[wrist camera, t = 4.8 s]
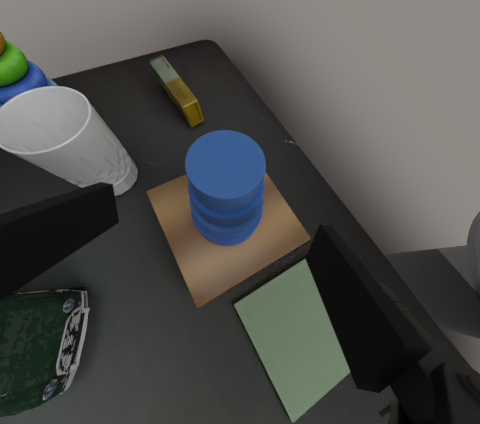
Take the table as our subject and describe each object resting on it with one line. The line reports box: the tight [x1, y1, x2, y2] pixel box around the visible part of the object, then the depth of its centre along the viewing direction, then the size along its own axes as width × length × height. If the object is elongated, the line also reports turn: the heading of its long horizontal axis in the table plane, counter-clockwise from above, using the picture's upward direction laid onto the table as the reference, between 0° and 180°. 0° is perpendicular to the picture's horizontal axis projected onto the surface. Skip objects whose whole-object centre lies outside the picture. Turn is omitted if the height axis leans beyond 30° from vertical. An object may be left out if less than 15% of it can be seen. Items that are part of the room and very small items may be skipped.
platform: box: [146, 172, 311, 308], centre depth 21 cm, size 14×14×4 cm
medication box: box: [149, 55, 204, 128], centre depth 28 cm, size 12×3×4 cm, turn 33°
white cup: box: [0, 86, 138, 196], centre depth 20 cm, size 8×8×10 cm
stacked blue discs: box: [185, 130, 266, 246], centre depth 15 cm, size 7×7×10 cm
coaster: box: [234, 259, 350, 423], centre depth 20 cm, size 12×12×1 cm
